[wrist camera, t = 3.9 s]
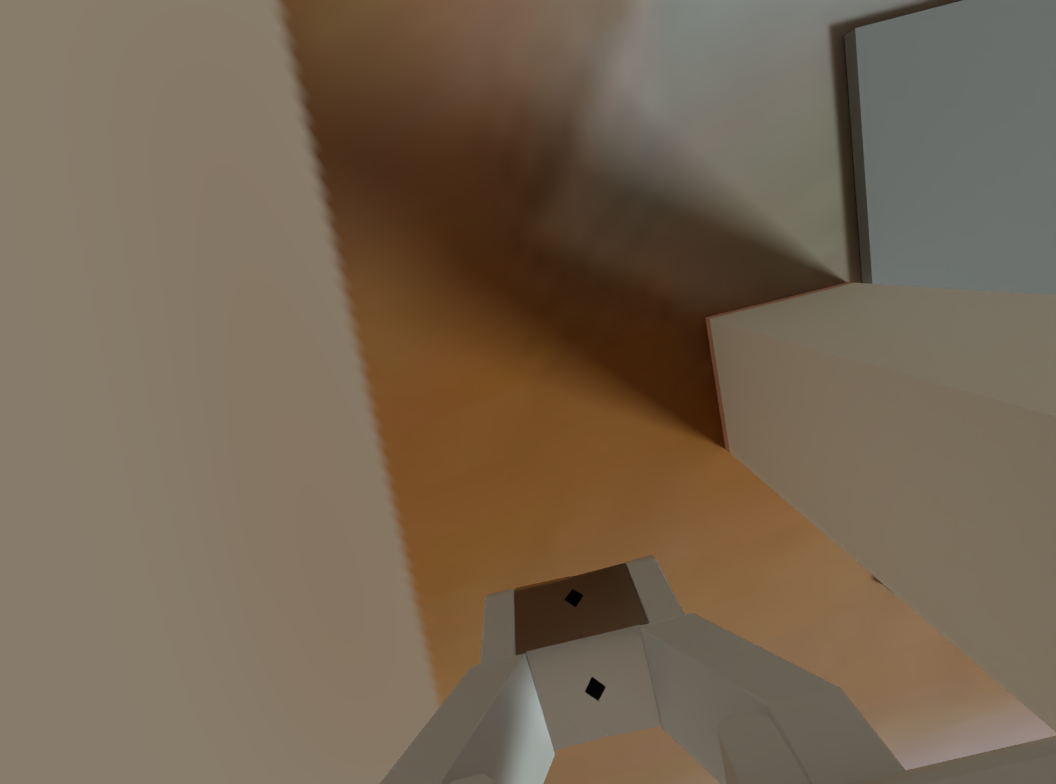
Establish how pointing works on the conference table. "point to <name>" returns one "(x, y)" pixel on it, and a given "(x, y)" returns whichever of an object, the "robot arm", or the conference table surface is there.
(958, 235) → the mat
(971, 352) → the tall block
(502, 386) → the conference table surface
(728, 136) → the conference table surface
